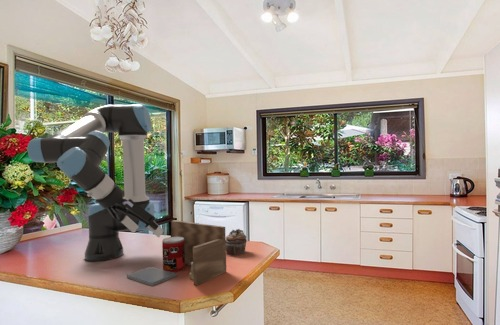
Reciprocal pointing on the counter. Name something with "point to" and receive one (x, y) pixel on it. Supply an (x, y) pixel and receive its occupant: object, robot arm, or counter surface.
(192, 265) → the offcut stack
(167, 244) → the canned food
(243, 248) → the cupcake
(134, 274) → the slate tile
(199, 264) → the walnut rack
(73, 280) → the counter surface
